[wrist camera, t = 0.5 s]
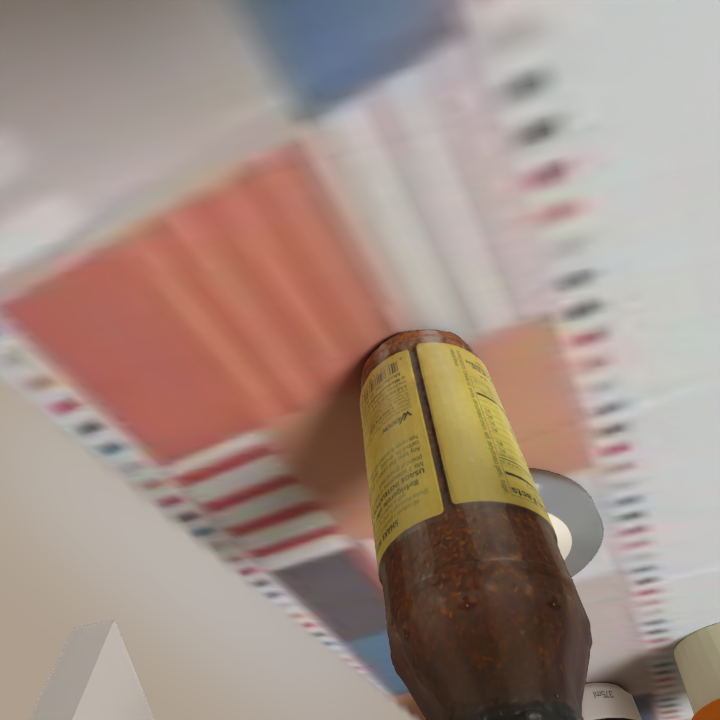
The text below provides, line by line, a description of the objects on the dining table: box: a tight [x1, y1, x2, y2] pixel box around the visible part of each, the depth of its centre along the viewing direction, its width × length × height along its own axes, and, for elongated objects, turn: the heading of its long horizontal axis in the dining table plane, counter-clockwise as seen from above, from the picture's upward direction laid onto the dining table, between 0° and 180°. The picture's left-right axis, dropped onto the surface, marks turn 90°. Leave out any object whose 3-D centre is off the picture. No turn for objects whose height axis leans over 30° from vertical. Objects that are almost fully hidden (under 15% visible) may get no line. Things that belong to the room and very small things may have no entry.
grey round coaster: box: [528, 468, 604, 577], centre depth 35 cm, size 13×13×1 cm
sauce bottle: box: [360, 330, 592, 720], centre depth 19 cm, size 6×6×20 cm
